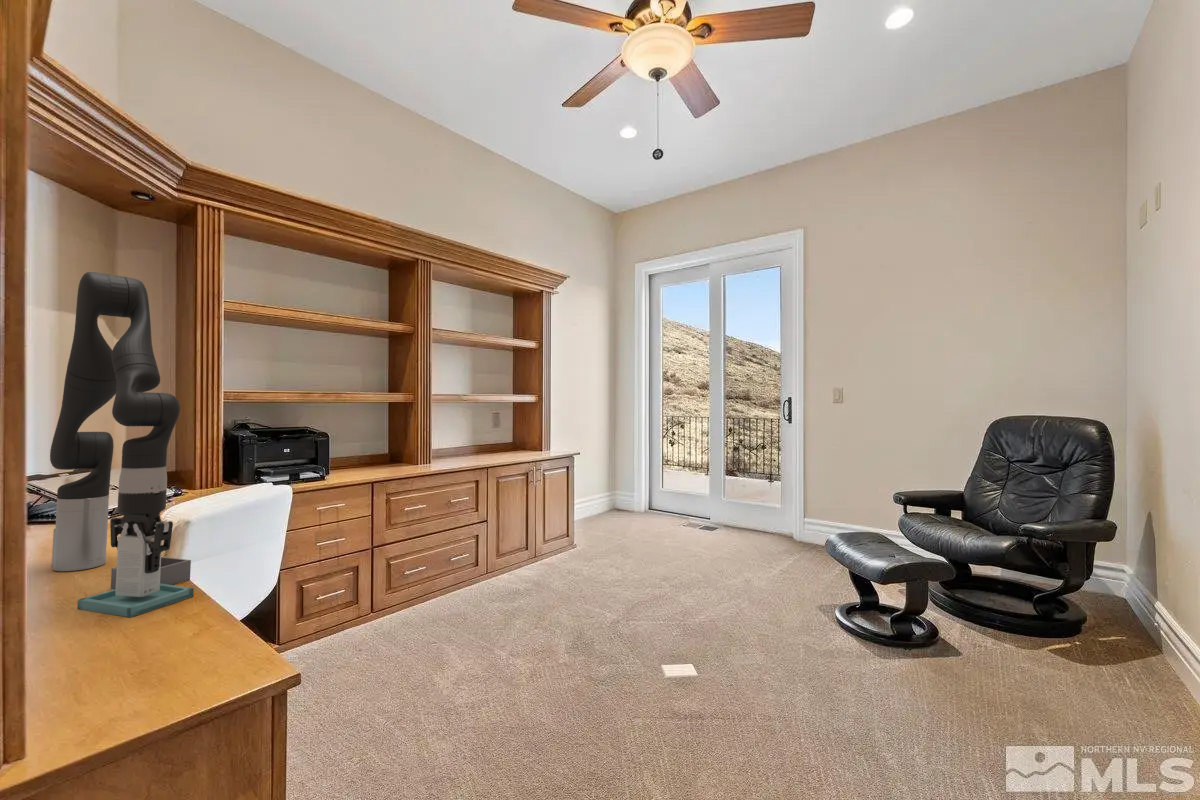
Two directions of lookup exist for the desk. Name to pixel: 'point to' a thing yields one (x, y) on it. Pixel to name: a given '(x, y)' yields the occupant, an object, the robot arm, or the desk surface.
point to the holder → (166, 571)
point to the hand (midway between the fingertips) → (138, 570)
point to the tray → (135, 601)
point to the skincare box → (134, 569)
